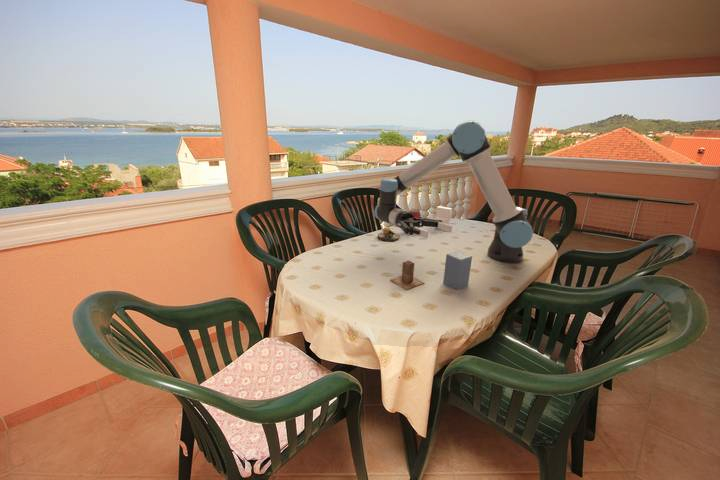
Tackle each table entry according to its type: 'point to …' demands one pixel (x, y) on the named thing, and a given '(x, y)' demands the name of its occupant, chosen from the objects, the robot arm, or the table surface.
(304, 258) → the table surface
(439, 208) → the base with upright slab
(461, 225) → the table surface
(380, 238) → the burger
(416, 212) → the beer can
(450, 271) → the notched grey prism
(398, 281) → the post
